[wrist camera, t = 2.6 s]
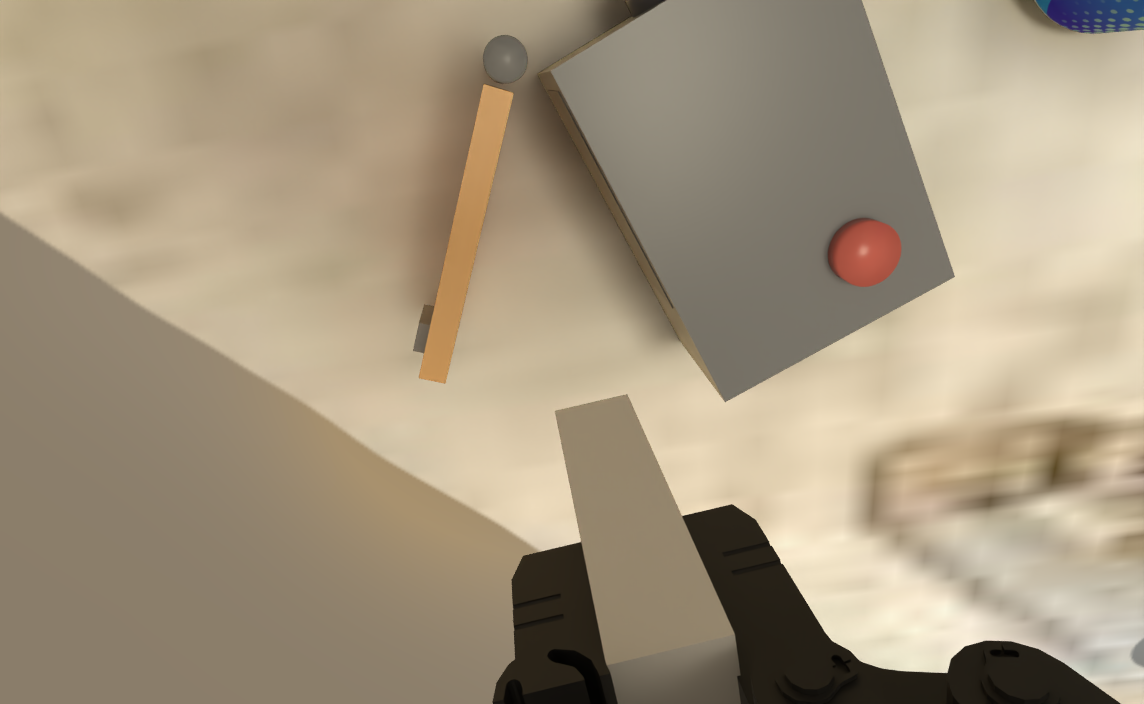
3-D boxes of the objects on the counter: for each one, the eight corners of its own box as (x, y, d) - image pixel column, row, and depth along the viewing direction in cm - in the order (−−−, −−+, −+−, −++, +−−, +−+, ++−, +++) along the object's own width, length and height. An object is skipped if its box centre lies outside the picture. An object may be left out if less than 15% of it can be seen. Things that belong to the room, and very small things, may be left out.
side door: (483, 39, 27) (481, 26, 21) (523, 51, 28) (532, 42, 22) (422, 322, 31) (405, 377, 25) (457, 330, 32) (450, 386, 26)
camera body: (519, 43, 28) (529, 29, 21) (736, -91, 27) (824, -153, 20) (679, 341, 34) (730, 411, 27) (863, 238, 33) (968, 282, 26)
